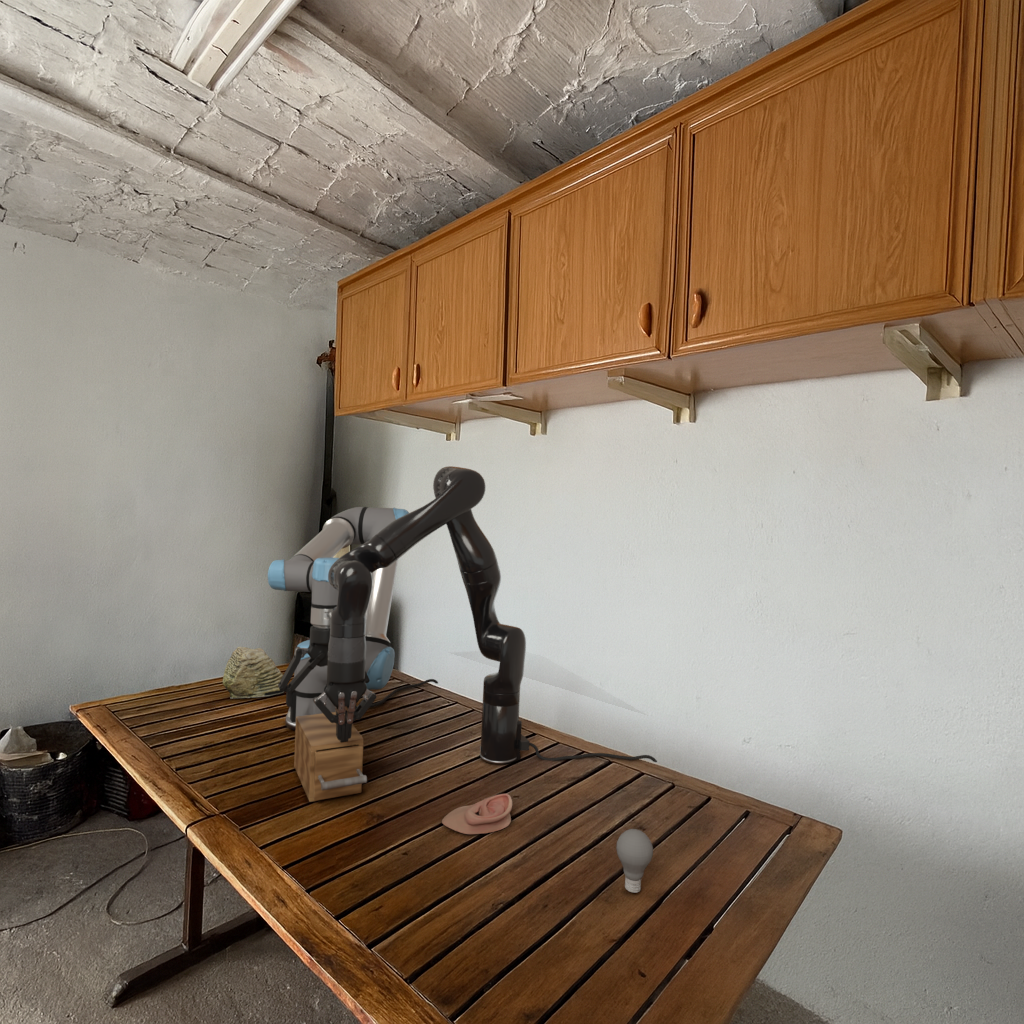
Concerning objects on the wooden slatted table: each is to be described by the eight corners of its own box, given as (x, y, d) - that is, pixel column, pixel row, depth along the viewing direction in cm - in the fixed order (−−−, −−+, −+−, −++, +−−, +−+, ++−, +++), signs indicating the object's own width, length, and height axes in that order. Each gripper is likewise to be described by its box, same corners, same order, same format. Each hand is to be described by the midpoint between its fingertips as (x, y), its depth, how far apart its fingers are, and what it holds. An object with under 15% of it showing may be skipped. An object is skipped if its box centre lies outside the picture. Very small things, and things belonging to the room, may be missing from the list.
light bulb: (610, 879, 108) (613, 822, 108) (644, 879, 109) (647, 822, 109) (619, 902, 102) (622, 840, 102) (655, 901, 103) (658, 840, 103)
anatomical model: (437, 809, 122) (454, 783, 133) (436, 829, 122) (453, 802, 133) (504, 819, 119) (516, 792, 131) (503, 840, 119) (515, 811, 131)
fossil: (218, 695, 195) (220, 647, 195) (278, 685, 208) (279, 640, 207) (228, 703, 189) (230, 653, 188) (289, 692, 201) (290, 645, 201)
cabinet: (361, 792, 136) (363, 739, 136) (309, 802, 131) (311, 746, 131) (341, 758, 153) (342, 711, 153) (293, 766, 148) (295, 716, 148)
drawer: (367, 803, 130) (369, 756, 130) (319, 812, 125) (321, 764, 125) (341, 760, 150) (343, 719, 150) (299, 766, 146) (300, 725, 145)
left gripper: (272, 631, 137) (268, 728, 137) (385, 625, 149) (381, 715, 149) (267, 624, 143) (263, 718, 144) (376, 619, 155) (372, 706, 155)
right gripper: (317, 664, 123) (313, 752, 123) (383, 658, 129) (380, 742, 129) (310, 654, 129) (306, 738, 130) (373, 650, 136) (370, 730, 136)
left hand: (323, 717), depth 146 cm, fingers open, 13 cm apart
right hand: (343, 740), depth 130 cm, fingers closed
